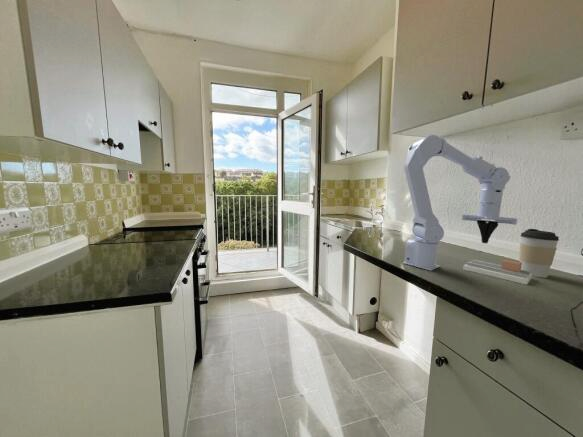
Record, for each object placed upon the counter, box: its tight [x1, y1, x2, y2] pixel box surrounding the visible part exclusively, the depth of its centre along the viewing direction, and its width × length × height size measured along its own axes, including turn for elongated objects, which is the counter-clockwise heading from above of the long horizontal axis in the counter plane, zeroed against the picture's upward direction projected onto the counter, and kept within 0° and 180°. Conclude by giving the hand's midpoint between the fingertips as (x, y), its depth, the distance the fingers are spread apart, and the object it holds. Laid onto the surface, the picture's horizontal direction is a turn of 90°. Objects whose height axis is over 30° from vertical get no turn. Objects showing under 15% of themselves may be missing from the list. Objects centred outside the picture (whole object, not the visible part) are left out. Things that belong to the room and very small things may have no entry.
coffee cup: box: [518, 228, 560, 279], centre depth 80 cm, size 9×9×15 cm
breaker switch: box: [502, 259, 522, 273], centre depth 76 cm, size 4×4×4 cm
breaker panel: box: [462, 259, 533, 286], centre depth 79 cm, size 16×9×2 cm, turn 39°
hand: (484, 242), depth 83 cm, fingers closed
